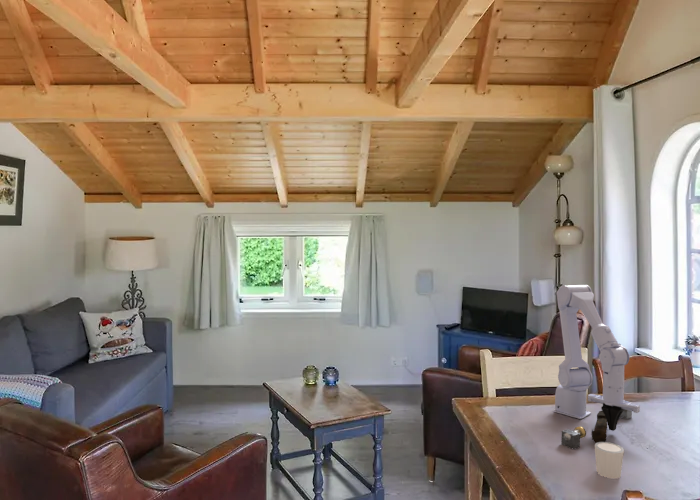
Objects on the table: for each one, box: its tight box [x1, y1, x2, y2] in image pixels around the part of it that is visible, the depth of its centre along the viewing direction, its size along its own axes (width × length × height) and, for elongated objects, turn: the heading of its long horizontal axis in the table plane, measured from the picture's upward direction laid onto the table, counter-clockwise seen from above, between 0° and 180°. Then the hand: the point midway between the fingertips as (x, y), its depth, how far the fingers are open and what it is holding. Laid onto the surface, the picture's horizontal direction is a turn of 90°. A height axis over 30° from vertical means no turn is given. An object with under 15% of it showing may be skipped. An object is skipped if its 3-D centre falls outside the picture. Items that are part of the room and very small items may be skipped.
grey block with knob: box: [619, 409, 633, 420], centre depth 172 cm, size 7×4×5 cm, turn 122°
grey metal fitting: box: [561, 426, 587, 450], centre depth 151 cm, size 7×4×5 cm, turn 122°
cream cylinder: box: [594, 441, 625, 480], centre depth 133 cm, size 7×7×7 cm
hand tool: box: [591, 410, 608, 444], centre depth 159 cm, size 19×4×5 cm, turn 148°
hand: (612, 429), depth 159 cm, fingers closed
